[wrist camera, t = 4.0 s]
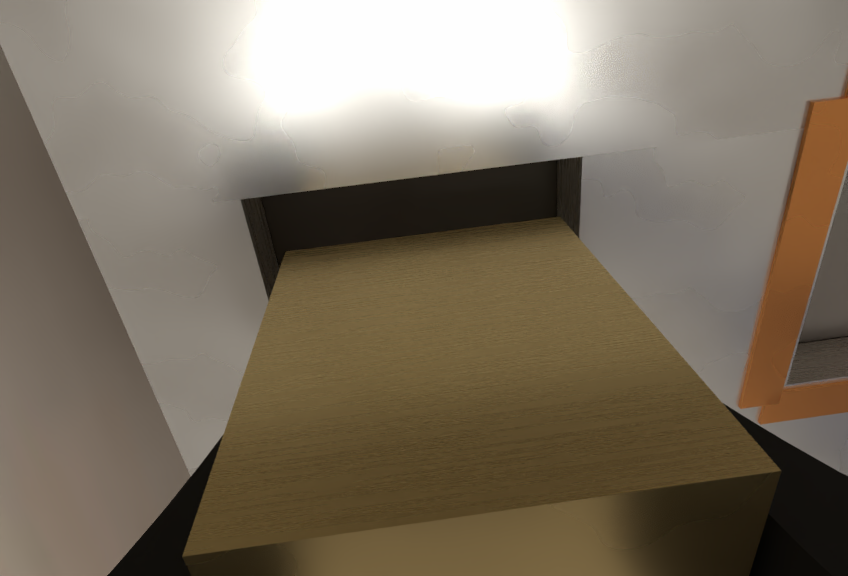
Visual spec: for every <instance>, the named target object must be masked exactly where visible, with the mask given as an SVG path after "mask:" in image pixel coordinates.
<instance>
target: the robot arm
mask: <svg viewBox="0 0 848 576" xmlns="http://www.w3.org/2000/svg"><path fill="white" fill-rule="evenodd" d="M723 404H724V403H723ZM724 405H725V404H724ZM725 407H726V408H727V409H728V410H729V411H730V412H731V413H732V415H733V416H734V417H735V418H736V419H737V420H738V422H739V423H740V424H741V425H742V426H743V427H744V428H745V430H746V431H747V432H748V433H749V434H750V435H751V436H752V438H753V439H754V440H755V441H756V442H757V443H758V444H759V446H760V447H761V448H762V449H763V450H764V451H765V453H766V454H767V455H768V456H769V457H770V458H771V459H772V461H773V462H774V463H775V464H776V465H777V466H778V467H779V469H780V470H781V474H780V477H779V481H778V484H777V487H776V490H775V493H774V497H773V500H772V503H771V506H770V510H769V513H768V516H767V519H766V523H765V526H764V529H763V532H762V536H761V539H760V542H759V545H758V548H757V552H756V555H755V558H754V561H753V565H752V568H751V571H750V574H749V576H848V476H846V475H845V474H843V473H841V472H839V471H837V470H835V469H834V468H832V467H830V466H828V465H826V464H825V463H823V462H821V461H819V460H818V459H816V458H814V457H812V456H811V455H809V454H807V453H805V452H804V451H802V450H800V449H798V448H796V447H795V446H793V445H791V444H789V443H788V442H786V441H784V440H783V439H781V438H779V437H777V436H776V435H774V434H772V433H771V432H769V431H767V430H766V429H764V428H762V427H761V426H759V425H757V424H756V423H754V422H753V421H751V420H749V419H748V418H746V417H744V416H743V415H741V414H740V413H738V412H736V411H735V410H733V409H732V408H730V407H729V406H727V405H725ZM223 435H224V434H223ZM223 435H222V437H221V438H220V439H219V441H218V442H217V443H216V445H215V446H214V447H213V449H212V450H211V451H210V453H209V454H208V455H207V457H206V458H205V459H204V460H203V462H202V463H201V464H200V466H199V467H198V468H197V469H196V471H195V472H194V473H193V474H192V476H191V477H190V478H189V480H188V481H187V482H186V483H185V485H184V486H183V487H182V488H181V490H180V491H179V492H178V493H177V495H176V496H175V497H174V498H173V500H172V501H171V502H170V503H169V505H168V506H167V507H166V508H165V510H164V511H163V512H162V513H161V514H160V516H159V517H158V518H157V519H156V520H155V521H154V523H153V524H152V525H151V526H150V527H149V528H148V530H147V531H146V532H145V533H144V534H143V535H142V537H141V538H140V539H139V540H138V541H137V542H136V544H135V545H134V546H133V547H132V548H131V549H130V550H129V552H128V553H127V554H126V555H125V556H124V557H123V559H122V560H121V561H120V562H119V563H118V564H117V566H116V567H115V568H114V569H113V570H112V571H111V572H110V573H109V574H108V575H107V576H191V574H190V572H189V570H188V568H187V566H186V564H185V562H184V560H183V558H182V556H183V553H184V550H185V547H186V544H187V541H188V538H189V535H190V532H191V529H192V526H193V523H194V520H195V517H196V514H197V511H198V508H199V505H200V502H201V499H202V497H203V494H204V491H205V488H206V485H207V482H208V479H209V476H210V473H211V470H212V467H213V464H214V461H215V458H216V455H217V452H218V449H219V446H220V443H221V440H222V438H223Z"/></svg>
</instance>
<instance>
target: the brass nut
mask: <svg viewBox="0 0 848 576" xmlns="http://www.w3.org/2000/svg"><path fill="white" fill-rule="evenodd" d="M780 474H781V470H780V469H779V467H778V466H777V465H776V464H775V463H774V462H773V461H772V459H771V458H770V457H769V456H768V455H767V454H766V453H765V451H764V450H763V449H762V448H761V447H760V446H759V444H758V443H757V442H756V441H755V440H754V439H753V438H752V436H751V435H750V434H749V433H748V432H747V431H746V430H745V428H744V427H743V426H742V425H741V424H740V423H739V422H738V420H737V419H736V418H735V417H734V416H733V415H732V413H731V412H730V411H729V410H728V409H727V408H726V407H725V405H724V404H723V403H722V402H721V401H720V400H719V399H718V397H717V396H716V395H715V394H714V393H713V392H712V390H711V389H710V388H709V387H708V386H707V385H706V384H705V382H704V381H703V380H702V379H701V378H700V377H699V376H698V374H697V373H696V372H695V371H694V370H693V369H692V368H691V366H690V365H689V364H688V363H687V362H686V361H685V359H684V358H683V357H682V356H681V355H680V354H679V353H678V351H677V350H676V349H675V348H674V347H673V346H672V345H671V343H670V342H669V341H668V340H667V339H666V338H665V337H664V335H663V334H662V333H661V332H660V331H659V330H658V328H657V327H656V326H655V325H654V324H653V323H652V322H651V320H650V319H649V318H648V317H647V316H646V315H645V314H644V312H643V311H642V310H641V309H640V308H639V307H638V306H637V304H636V303H635V302H634V301H633V300H632V299H631V297H630V296H629V295H628V294H627V293H626V292H625V291H624V289H623V288H622V287H621V286H620V285H619V284H618V283H617V281H616V280H615V279H614V278H613V277H612V276H611V275H610V273H609V272H608V271H607V270H606V269H605V268H604V266H603V265H602V264H601V263H600V262H599V261H598V260H597V258H596V257H595V256H594V255H593V254H592V253H591V252H590V250H589V249H588V248H587V247H586V246H585V245H584V243H583V242H582V241H581V240H580V239H579V238H578V237H577V235H576V234H575V233H574V232H573V231H572V230H571V229H570V227H569V226H568V225H567V224H566V223H565V222H564V221H563V219H562V218H561V217H552V218H544V219H536V220H528V221H521V222H513V223H505V224H497V225H489V226H482V227H474V228H466V229H458V230H450V231H442V232H435V233H427V234H419V235H411V236H403V237H396V238H388V239H380V240H372V241H364V242H357V243H349V244H341V245H333V246H325V247H318V248H310V249H302V250H294V251H286V252H285V255H284V258H283V260H282V263H281V266H280V269H279V272H278V275H277V278H276V281H275V284H274V287H273V290H272V293H271V296H270V299H269V302H268V305H267V308H266V311H265V314H264V317H263V319H262V322H261V325H260V328H259V331H258V334H257V337H256V340H255V343H254V346H253V349H252V352H251V355H250V358H249V361H248V364H247V367H246V370H245V373H244V376H243V379H242V381H241V384H240V387H239V390H238V393H237V396H236V399H235V402H234V405H233V408H232V411H231V414H230V417H229V420H228V423H227V426H226V429H225V432H224V435H223V438H222V440H221V443H220V446H219V449H218V452H217V455H216V458H215V461H214V464H213V467H212V470H211V473H210V476H209V479H208V482H207V485H206V488H205V491H204V494H203V497H202V499H201V502H200V505H199V508H198V511H197V514H196V517H195V520H194V523H193V526H192V529H191V532H190V535H189V538H188V541H187V544H186V547H185V550H184V553H183V556H182V558H183V560H184V562H185V564H186V566H187V568H188V570H189V572H190V574H191V576H749V574H750V571H751V568H752V565H753V561H754V558H755V555H756V552H757V548H758V545H759V542H760V539H761V536H762V532H763V529H764V526H765V523H766V519H767V516H768V513H769V510H770V506H771V503H772V500H773V497H774V493H775V490H776V487H777V484H778V481H779V477H780Z"/></svg>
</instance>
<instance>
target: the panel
mask: <svg viewBox="0 0 848 576" xmlns="http://www.w3.org/2000/svg"><path fill="white" fill-rule="evenodd" d="M0 45H1V47H2V49H3V52H4V54H5V56H6V58H7V61H8V63H9V65H10V67H11V70H12V72H13V74H14V76H15V79H16V81H17V83H18V86H19V88H20V90H21V92H22V95H23V97H24V99H25V101H26V104H27V106H28V108H29V110H30V113H31V115H32V117H33V120H34V122H35V124H36V126H37V129H38V131H39V133H40V135H41V138H42V140H43V142H44V145H45V147H46V149H47V151H48V154H49V156H50V158H51V160H52V163H53V165H54V167H55V169H56V172H57V174H58V176H59V179H60V181H61V183H62V185H63V188H64V190H65V192H66V194H67V197H68V199H69V201H70V203H71V206H72V208H73V210H74V213H75V215H76V217H77V219H78V222H79V224H80V226H81V228H82V231H83V233H84V235H85V238H86V240H87V242H88V244H89V247H90V249H91V251H92V253H93V256H94V258H95V260H96V262H97V265H98V267H99V269H100V272H101V274H102V276H103V278H104V281H105V283H106V285H107V287H108V290H109V292H110V294H111V296H112V299H113V301H114V303H115V306H116V308H117V310H118V312H119V315H120V317H121V319H122V321H123V324H124V326H125V328H126V331H127V333H128V335H129V337H130V340H131V342H132V344H133V346H134V349H135V351H136V353H137V355H138V358H139V360H140V362H141V365H142V367H143V369H144V371H145V374H146V376H147V378H148V380H149V383H150V385H151V387H152V389H153V392H154V394H155V396H156V399H157V401H158V403H159V405H160V408H161V410H162V412H163V414H164V417H165V419H166V421H167V424H168V426H169V428H170V430H171V433H172V435H173V437H174V439H175V442H176V444H177V446H178V448H179V451H180V453H181V455H182V458H183V460H184V462H185V464H186V467H187V469H188V471H189V473H190V476H192V474H193V473H194V472H195V471H196V469H197V468H198V467H199V466H200V464H201V463H202V462H203V460H204V459H205V458H206V457H207V455H208V454H209V453H210V451H211V450H212V449H213V447H214V446H215V445H216V443H217V442H218V441H219V439H220V438H221V437H222V435H223V434H224V432H225V429H226V426H227V423H228V420H229V417H230V414H231V411H232V408H233V405H234V402H235V399H236V396H237V393H238V390H239V387H240V384H241V381H242V379H243V376H244V373H245V370H246V367H247V364H248V361H249V358H250V355H251V352H252V349H253V346H254V343H255V340H256V337H257V334H258V331H259V328H260V325H261V322H262V319H263V317H264V314H265V311H266V308H267V305H268V302H269V299H270V296H271V293H272V290H273V287H274V284H275V281H276V278H277V275H278V272H279V266H278V262H277V258H276V254H275V250H274V246H273V243H272V239H271V235H270V231H269V227H268V223H267V219H266V216H265V212H264V208H263V204H262V200H261V197H264V196H272V195H280V194H288V193H296V192H304V191H312V190H320V189H328V188H336V187H343V186H351V185H359V184H367V183H375V182H383V181H391V180H399V179H407V178H415V177H423V176H431V175H439V174H447V173H455V172H463V171H471V170H479V169H486V168H494V167H502V166H510V165H518V164H526V163H534V162H542V161H550V160H558V171H557V217H561V218H562V219H563V221H564V222H565V223H566V224H567V225H568V226H569V227H570V229H571V230H572V231H573V232H574V233H575V234H576V235H577V237H578V238H579V239H580V240H581V241H582V242H583V243H584V245H585V246H586V247H587V248H588V249H589V250H590V252H591V253H592V254H593V255H594V256H595V257H596V258H597V260H598V261H599V262H600V263H601V264H602V265H603V266H604V268H605V269H606V270H607V271H608V272H609V273H610V275H611V276H612V277H613V278H614V279H615V280H616V281H617V283H618V284H619V285H620V286H621V287H622V288H623V289H624V291H625V292H626V293H627V294H628V295H629V296H630V297H631V299H632V300H633V301H634V302H635V303H636V304H637V306H638V307H639V308H640V309H641V310H642V311H643V312H644V314H645V315H646V316H647V317H648V318H649V319H650V320H651V322H652V323H653V324H654V325H655V326H656V327H657V328H658V330H659V331H660V332H661V333H662V334H663V335H664V337H665V338H666V339H667V340H668V341H669V342H670V343H671V345H672V346H673V347H674V348H675V349H676V350H677V351H678V353H679V354H680V355H681V356H682V357H683V358H684V359H685V361H686V362H687V363H688V364H689V365H690V366H691V368H692V369H693V370H694V371H695V372H696V373H697V374H698V376H699V377H700V378H701V379H702V380H703V381H704V382H705V384H706V385H707V386H708V387H709V388H710V389H711V390H712V392H713V393H714V394H715V395H716V396H717V397H718V399H719V400H720V401H721V402H722V403H724V404H725V405H727V406H729V407H730V408H732V409H733V410H735V411H736V412H738V413H740V414H741V415H743V416H744V417H746V418H748V419H749V420H751V421H753V422H754V423H756V424H757V425H759V426H761V427H762V428H764V429H766V430H767V431H769V432H771V433H772V434H774V435H776V436H777V437H779V438H781V439H783V440H784V441H786V442H788V443H789V444H791V445H793V446H795V447H796V448H798V449H800V450H802V451H804V452H805V453H807V454H809V455H811V456H812V457H814V458H816V459H818V460H819V461H821V462H823V463H825V464H826V465H828V466H830V467H832V468H834V469H835V470H837V471H839V472H841V473H843V474H845V475H846V476H848V337H844V338H836V339H829V340H822V341H815V342H807V343H800V344H798V342H799V339H800V335H801V332H802V328H803V325H804V321H805V318H806V314H807V311H808V307H809V304H810V300H811V297H812V293H813V290H814V286H815V283H816V279H817V276H818V272H819V269H820V265H821V262H822V258H823V255H824V252H825V248H826V245H827V241H828V238H829V234H830V231H831V227H832V224H833V220H834V217H835V213H836V210H837V206H838V203H839V199H840V196H841V192H842V189H843V185H844V182H845V178H846V175H847V171H848V0H0Z"/></svg>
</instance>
